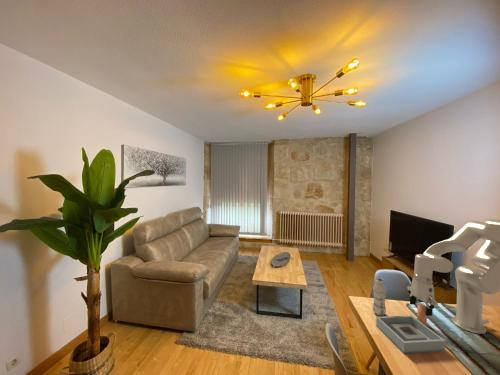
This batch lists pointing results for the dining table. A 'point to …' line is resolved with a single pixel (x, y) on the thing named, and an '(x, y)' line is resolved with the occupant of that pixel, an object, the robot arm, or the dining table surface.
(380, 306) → the plastic bottle
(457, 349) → the dining table surface
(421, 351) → the grey socket tray
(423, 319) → the peg
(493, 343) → the dining table surface
